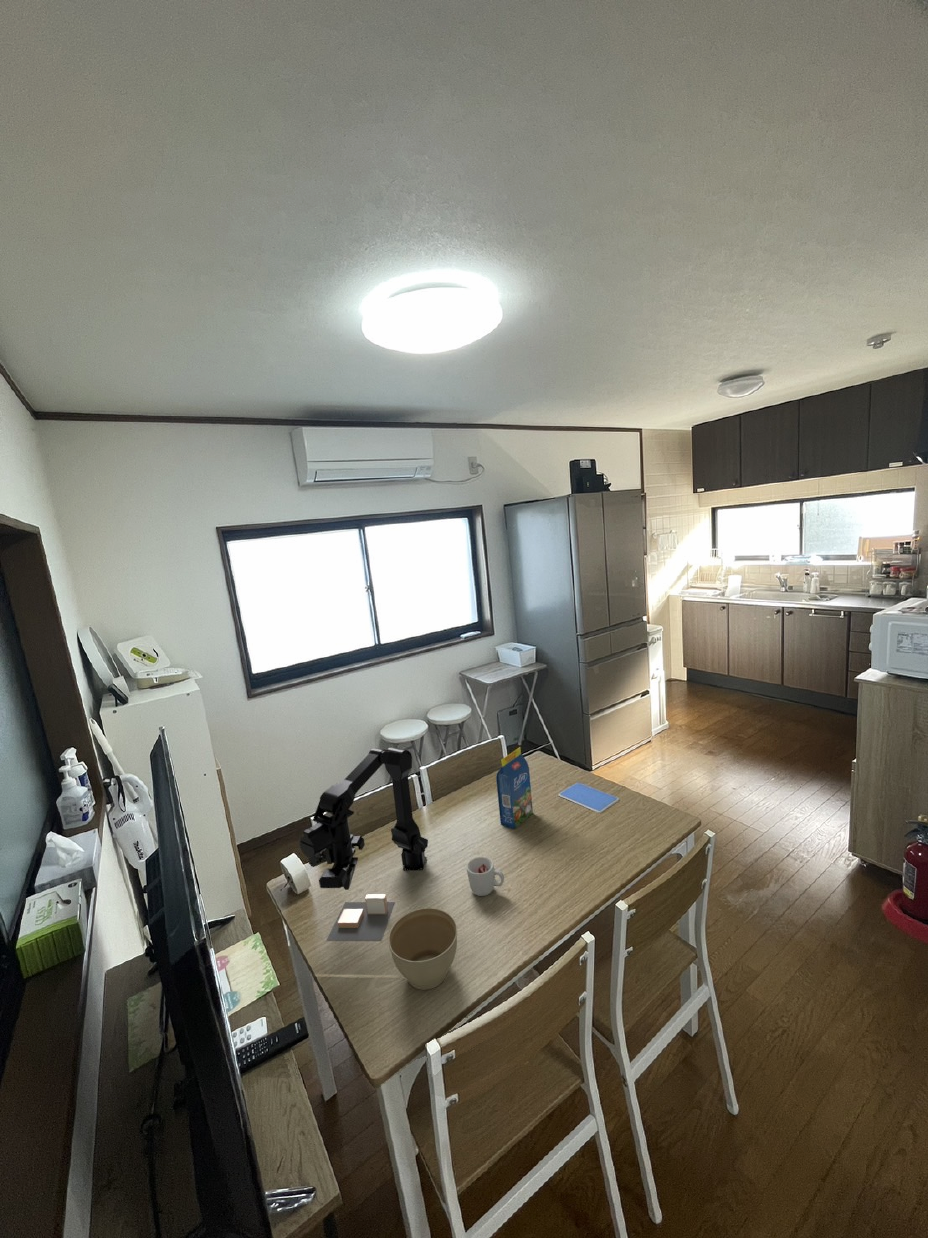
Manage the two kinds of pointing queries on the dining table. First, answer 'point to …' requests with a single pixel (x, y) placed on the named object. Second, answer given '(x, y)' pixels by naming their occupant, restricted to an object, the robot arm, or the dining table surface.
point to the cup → (482, 875)
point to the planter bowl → (424, 946)
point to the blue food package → (514, 790)
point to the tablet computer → (589, 797)
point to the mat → (362, 925)
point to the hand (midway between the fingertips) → (347, 889)
